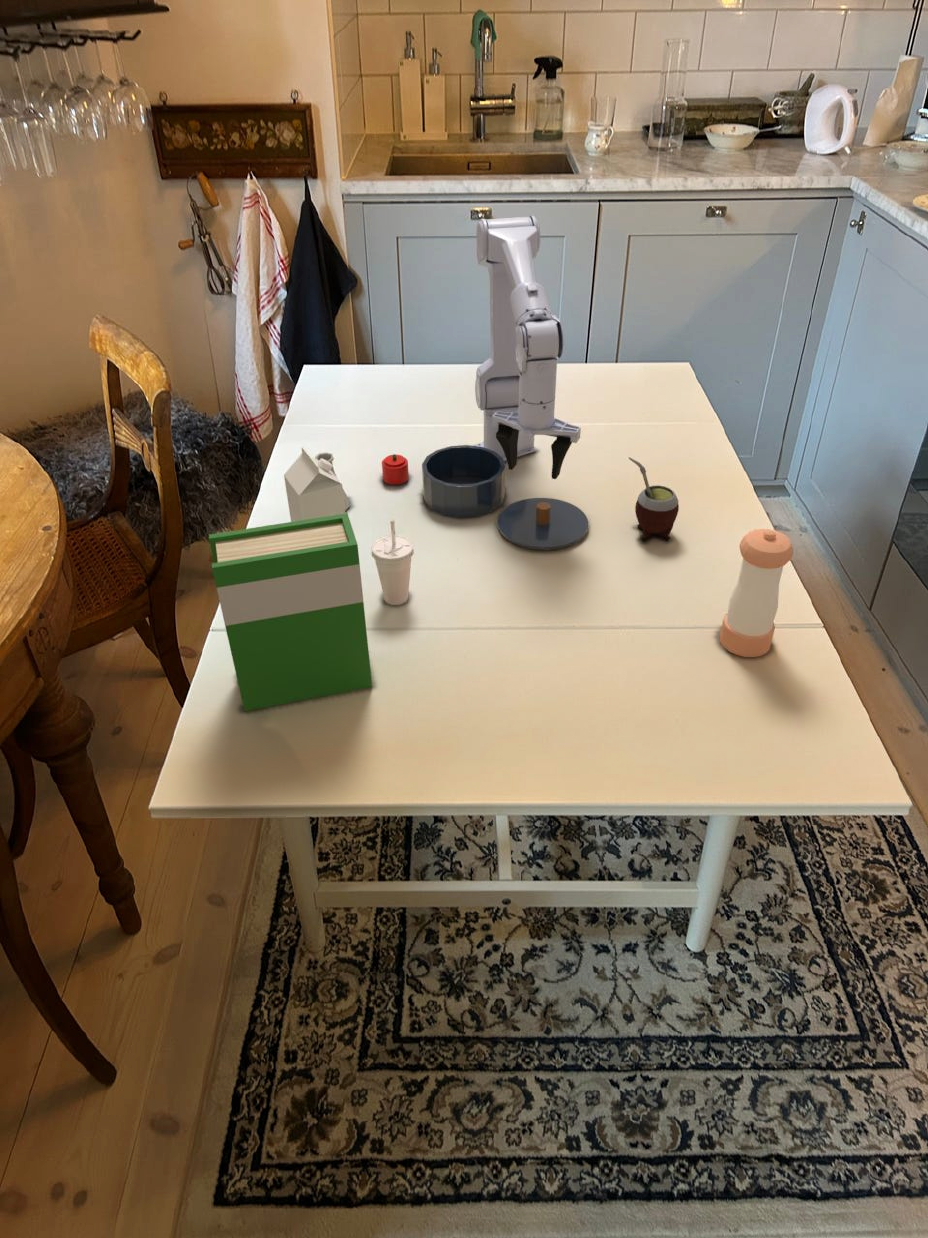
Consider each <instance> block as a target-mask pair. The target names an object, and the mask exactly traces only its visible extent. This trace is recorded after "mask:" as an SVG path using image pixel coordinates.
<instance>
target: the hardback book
mask: <svg viewBox="0 0 928 1238" xmlns="http://www.w3.org/2000/svg"><path fill="white" fill-rule="evenodd" d="M208 540H209V545H210V550H211V554H212V558H213V562H212V563H211V569H212V573H213V578H214V583H215V586H216V587H215V588H216V591H217V596H218V600H219V604H220V608H221V614H222V618H223V622H224V626H225V631H226V635H227V640H228V644H229V649H230V653H231V657H232V663H233V666H234V672H235V675H236V680H237V684H238V689H239V694H240V698H241V702H242V707H243V711H244V712H248V711H253V710H259V709H264V708H268V707H269V708H270V707H274V706H278V705H283V704H289V703H296V702H299V701H300V702H301V701H305V700H311V699H315V698H320V697H326V696H331V695H336V694H341V693H348V692H352V691H357V690H358V691H359V690H362V689H368V688H372V687H373V681H372V671H371V661H370V653H369V652H370V651H369V642H368V632H367V625H366V624H367V623H366V612H365V603H364V594H363V593H364V592H363V584H362V583H363V582H362V573H361V564H360V563H361V562H360V554H359V545H358V540H357V539H356V536H355V533H354V529H353V526H352V522H351V520H350V517H349V514H348V513H347V512H345V514H339V515H333V516H326V517H320V518H314V519H307V520H301V521H294V522H291V521H289V522H288V521H287V522H282V523H276V524H268V525H262V526H256V527H248V528H243V529H236V530H229V531H223V532H218V533H210V534H208Z"/></svg>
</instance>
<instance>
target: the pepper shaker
mask: <svg viewBox="0 0 928 1238" xmlns="http://www.w3.org/2000/svg"><path fill="white" fill-rule="evenodd" d="M738 547H739V551H740V552H739V553H740V554H741V557H742V562H741V565H740V569H739V575H738V579H737V581H736V583H735V585H734V588H733V590H732V593H731V595H730V597H729V601H728V608H727V613H726V614H725V615H724V616H723V619H722V624H721V630H720V633H719V642H720V644H721V646H723V648H724V649H726V651H728V652H730V653H731V654H733V655H735V656H740V657H744V658H756V657H761V656H763V655H765V654H767V653H768V652H769V651H770V649H771V646H772V641H773V637H774V634H775V631H776V630H775V629H776V625H775V619H776V616H777V613H778V609H779V592H780V591H779V590H780V583H781V579H782V574H783V570H784V566H785V565H786V564H788V563H789V562H790V561H791V560H792V558H793V555H794V546H793V544H792V542H791V539H790V538H789V537H788V536H787V535H786V534H784V533H783V532H781V531H777V530H775V529H771V528H757V529H756V528H755V529H753V530H750V531H749V532H748V533H747V534H745V535H744V536H743V537H742V539H741V540H740V542H739V546H738Z"/></svg>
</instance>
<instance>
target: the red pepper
mask: <svg viewBox="0 0 928 1238" xmlns="http://www.w3.org/2000/svg"><path fill="white" fill-rule="evenodd" d="M381 469H382V480H383V481H384V482H385V483H386V484H388V485H401V484H404V483H406V482H407V481H409V478H410V476H409V460H408V459H407V458H406V457H405V456H403V455H401V454H395V453H394V454H389V455H387V456H386V457H384V458H383V459H382V461H381Z"/></svg>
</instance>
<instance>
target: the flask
mask: <svg viewBox="0 0 928 1238" xmlns="http://www.w3.org/2000/svg"><path fill="white" fill-rule="evenodd" d="M314 458H315V459H317V460H320V459H321V458H322V459H325V460H327V461H328V462H329V463H331V464H332V468H331V469H330V470H331V471H332V472H333V474H334V475H335V476H336V477H337V478H338V476H337V474H336V471H335V469H334V465H333V462H334V458H335V457H334V453H332V452H331V453H330V452H319V453H318V454H316V455H315V456H314ZM343 496H344V505H345V511H347V510H348V509H349V508H350V506H351V504H350V500H349V497H348V495H347V493H346V491H345V489H344V488H343Z"/></svg>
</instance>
